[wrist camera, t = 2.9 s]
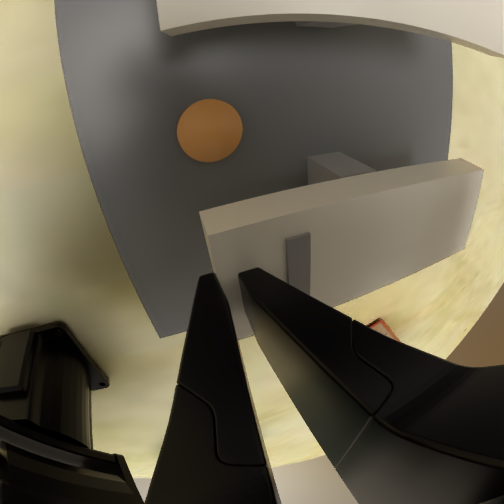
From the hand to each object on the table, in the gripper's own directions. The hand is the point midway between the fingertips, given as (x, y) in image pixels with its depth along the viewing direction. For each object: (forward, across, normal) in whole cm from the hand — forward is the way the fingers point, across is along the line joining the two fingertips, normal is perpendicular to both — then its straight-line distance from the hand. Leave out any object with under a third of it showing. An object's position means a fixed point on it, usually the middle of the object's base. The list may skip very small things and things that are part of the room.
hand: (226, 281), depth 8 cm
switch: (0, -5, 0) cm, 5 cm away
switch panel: (+6, -5, -8) cm, 11 cm away
